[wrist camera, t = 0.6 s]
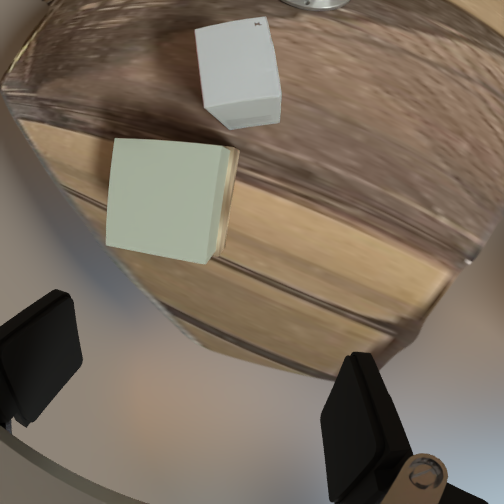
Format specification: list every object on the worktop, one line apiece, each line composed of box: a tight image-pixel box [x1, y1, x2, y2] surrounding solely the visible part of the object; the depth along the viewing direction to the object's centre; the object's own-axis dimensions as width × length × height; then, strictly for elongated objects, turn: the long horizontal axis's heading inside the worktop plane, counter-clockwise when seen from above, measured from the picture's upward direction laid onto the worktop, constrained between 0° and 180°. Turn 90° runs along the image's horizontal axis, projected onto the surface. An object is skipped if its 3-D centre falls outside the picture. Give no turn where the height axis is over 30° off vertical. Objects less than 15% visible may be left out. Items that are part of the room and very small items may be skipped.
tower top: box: [106, 138, 230, 264], centre depth 28 cm, size 11×11×5 cm
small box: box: [194, 17, 282, 130], centre depth 25 cm, size 8×6×13 cm
